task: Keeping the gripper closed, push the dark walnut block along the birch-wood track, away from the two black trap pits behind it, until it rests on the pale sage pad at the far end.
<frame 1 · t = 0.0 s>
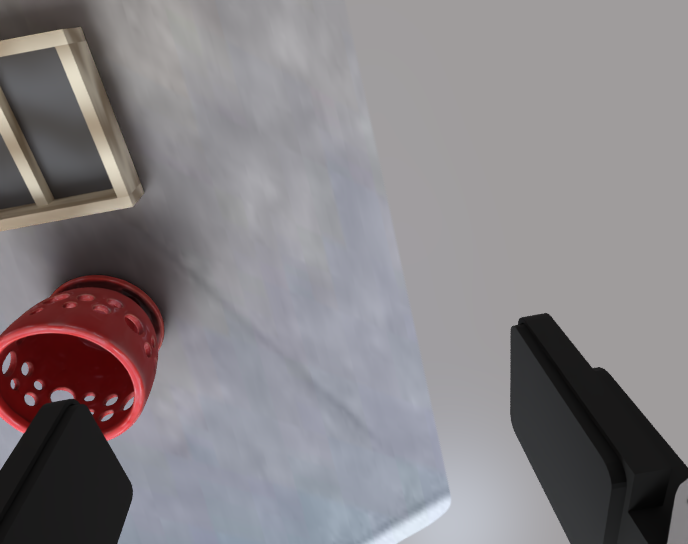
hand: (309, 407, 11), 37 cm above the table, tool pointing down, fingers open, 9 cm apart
plant pot: (111, 312, 52), on the table
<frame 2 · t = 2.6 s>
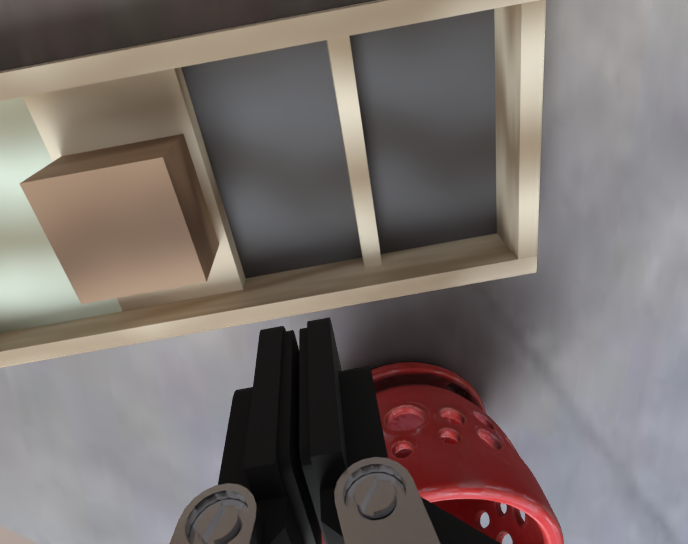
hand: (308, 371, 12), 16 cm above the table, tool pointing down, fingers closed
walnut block: (144, 202, 25), point 1 cm above the table, touching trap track
plant pot: (400, 408, 36), on the table
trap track: (216, 181, 26), on the table
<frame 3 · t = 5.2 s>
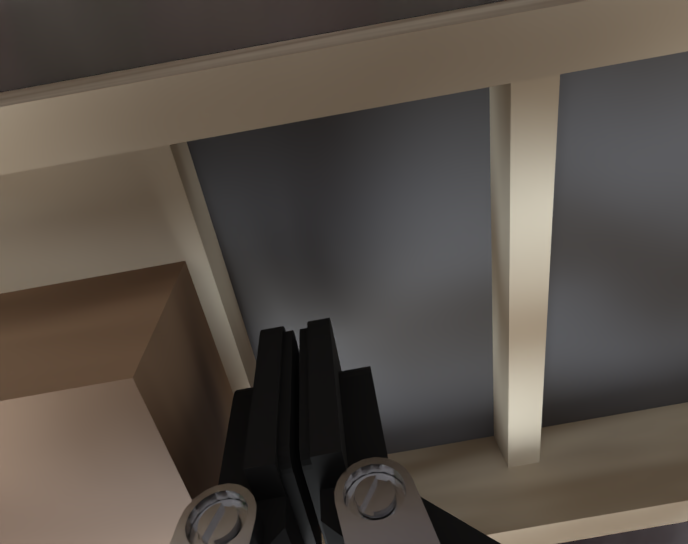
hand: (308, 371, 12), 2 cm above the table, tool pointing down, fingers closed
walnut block: (107, 382, 13), point 1 cm above the table, touching gripper, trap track
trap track: (246, 325, 14), on the table
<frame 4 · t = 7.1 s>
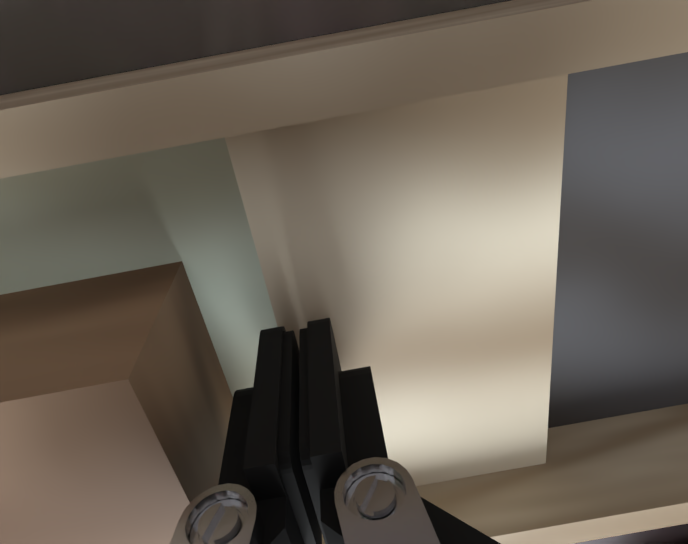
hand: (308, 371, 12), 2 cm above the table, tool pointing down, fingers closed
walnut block: (105, 384, 13), point 1 cm above the table, touching gripper, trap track
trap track: (530, 276, 14), on the table
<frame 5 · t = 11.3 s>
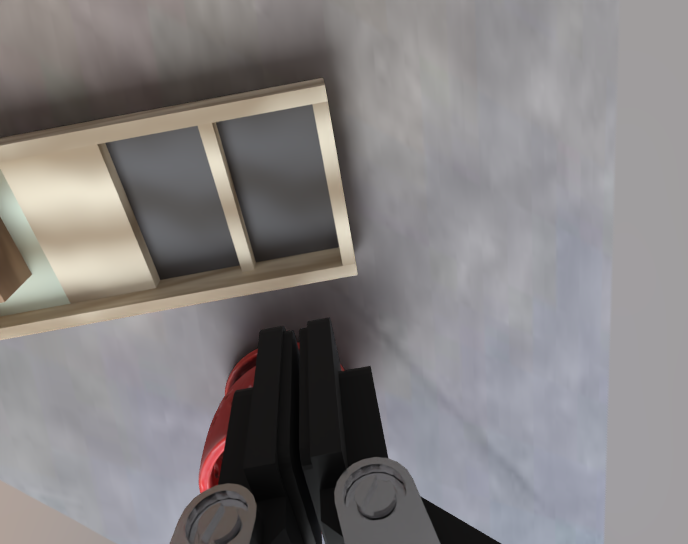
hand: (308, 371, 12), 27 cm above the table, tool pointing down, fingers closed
plant pot: (290, 378, 47), on the table
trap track: (134, 212, 38), on the table
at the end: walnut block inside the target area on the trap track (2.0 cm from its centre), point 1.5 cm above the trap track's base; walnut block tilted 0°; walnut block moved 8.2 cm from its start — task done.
